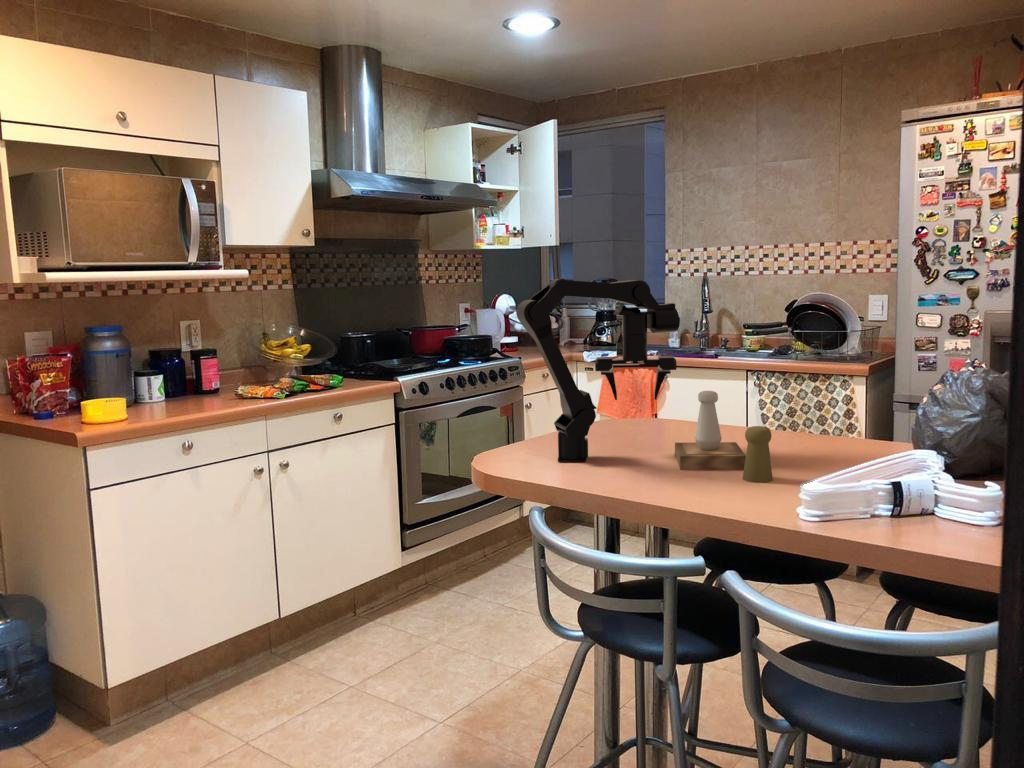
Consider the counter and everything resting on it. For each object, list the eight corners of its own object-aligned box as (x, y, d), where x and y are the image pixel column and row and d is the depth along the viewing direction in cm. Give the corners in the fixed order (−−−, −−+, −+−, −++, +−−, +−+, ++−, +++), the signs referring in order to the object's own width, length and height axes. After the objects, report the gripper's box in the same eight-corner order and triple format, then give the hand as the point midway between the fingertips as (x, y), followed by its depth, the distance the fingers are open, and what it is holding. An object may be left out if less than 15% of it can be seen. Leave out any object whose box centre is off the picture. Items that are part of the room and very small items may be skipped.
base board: (680, 469, 178) (680, 455, 177) (674, 455, 191) (674, 441, 191) (746, 469, 176) (746, 455, 176) (735, 454, 190) (735, 441, 189)
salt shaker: (726, 449, 182) (726, 391, 180) (705, 452, 180) (705, 394, 178) (710, 444, 187) (711, 388, 185) (689, 447, 185) (689, 390, 183)
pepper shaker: (768, 484, 164) (769, 430, 162) (738, 480, 167) (739, 428, 166) (776, 477, 169) (777, 425, 167) (747, 474, 172) (747, 423, 171)
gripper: (672, 330, 197) (672, 394, 199) (595, 332, 199) (596, 395, 202) (676, 334, 186) (676, 401, 188) (594, 335, 189) (595, 402, 191)
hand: (635, 399), depth 193 cm, fingers open, 9 cm apart
